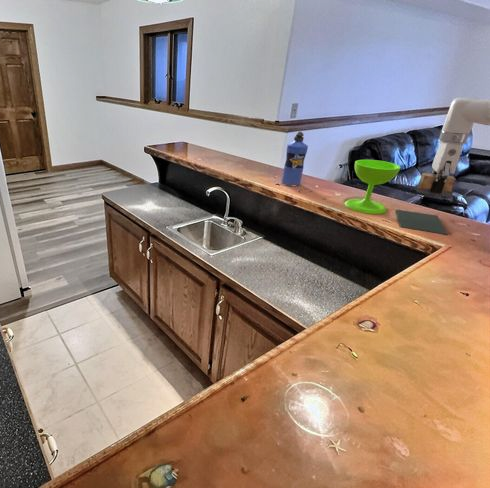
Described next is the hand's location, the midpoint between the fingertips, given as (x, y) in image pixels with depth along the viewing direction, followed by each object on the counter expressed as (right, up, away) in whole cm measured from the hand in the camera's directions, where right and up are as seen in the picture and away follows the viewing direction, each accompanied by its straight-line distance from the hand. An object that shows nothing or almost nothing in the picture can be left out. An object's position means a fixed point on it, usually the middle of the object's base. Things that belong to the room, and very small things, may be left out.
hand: (433, 189), depth 124 cm
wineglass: (-11, -4, +23) cm, 26 cm away
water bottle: (-32, +11, +52) cm, 62 cm away
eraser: (0, -1, 0) cm, 1 cm away
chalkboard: (0, -11, +7) cm, 14 cm away
